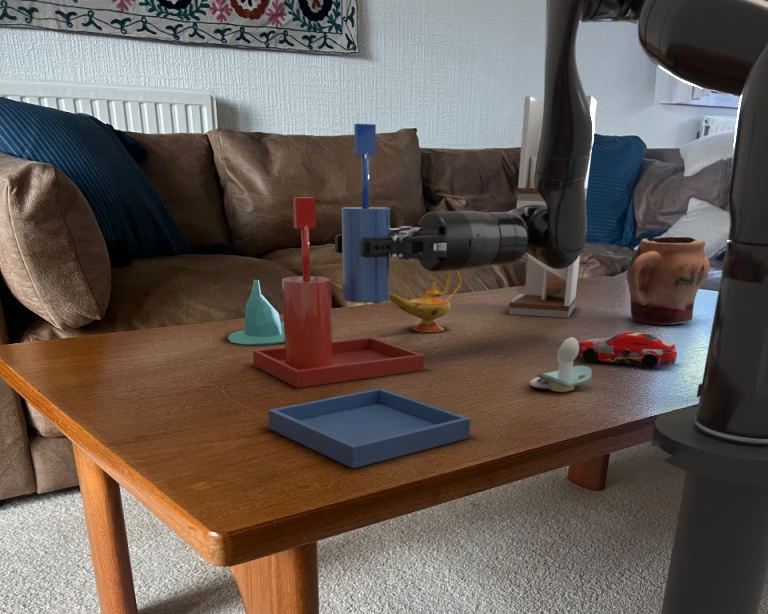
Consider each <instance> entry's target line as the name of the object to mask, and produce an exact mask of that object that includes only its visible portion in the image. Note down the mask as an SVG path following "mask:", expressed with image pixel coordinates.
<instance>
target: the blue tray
mask: <svg viewBox="0 0 768 614" xmlns="http://www.w3.org/2000/svg"><path fill="white" fill-rule="evenodd" d="M267 413H268V415H267V416H268V429H269V430H271V431H273V432H274V433H276V434H280V435H282V436H284V437H285V438H288V439H290V440H292V441H294V442H296V443H299V444H300V445H302V446H304V447H307V448H309V449H311V450H313V451H314V452H317V453H319V454H321V455H323V456H326V457H327V458H330V459H332V460H334V461H336V462H338V463H340V464H342V465H344V466H347V467H349V468H351V469H357V468H361V467H365V466H368V465H373V464H375V463H380V462H383V461H387V460H392V459H395V458H399V457H403V456H406V455H410V454H414V453H419V452H421V451H425V450H429V449H434V448H436V447H441V446H444V445H448V444H451V443H456V442H460V441H462V440H463V441H464V440H466V439H470V435H471V418H470V417H467V416H464V415H461V414H459V413H455V412H452V411H449V410H447V409H443V408H440V407H437V406H435V405H432V404H428V403H425V402H422V401H420V400H417V399H414V398H412V397H407V396H405V395H403V394H399V393H397V392H396V393H395V392H393V391H390V390H387V389H385V388H381V387H379V388H378V387H377V388H374V389H369V390H368V389H367V390H363V391H358V392H353V393H347V394H342V395H337V396H333V397H327V398H322V399H321V398H320V399H317V400H312V401H306V402H301V403H297V404H292V405H286V406H280V407H275V408H271V409H268V411H267Z"/></svg>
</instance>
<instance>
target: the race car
mask: <svg viewBox="0 0 768 614" xmlns="http://www.w3.org/2000/svg"><path fill="white" fill-rule="evenodd" d="M578 344H579V352H578V355H577V357H580V358H584V361H585V362H586V363H590V364H591V363H592V364H593V363H595V362H597V360H598V361H599V362H607V363H608V362H609V363H620V364H626V365H627V364H628V365H636V366H637V365H639V366H641V365H642V366H643V367H644V368H645V369H648V370H652V369H654V368H656V366H657V367H666V366H671V365H674V364H675V363H676V360H677V357H678V352H677V351H676V344H675V343H673V342H671V341H668V340H665V339H663V338H661V337H659V336H656V335H653V334H650V333H644V332H637V331H627V332H621V333H618V334H615V335H613V336H610V337H605V338H604V337H603V338H602V337H601V338H590V339H589V338H588V339H584V340H582V341H580V342H578Z"/></svg>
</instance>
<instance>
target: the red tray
mask: <svg viewBox="0 0 768 614" xmlns="http://www.w3.org/2000/svg"><path fill="white" fill-rule="evenodd" d="M252 354H253V355H252V359H253V366H254V367H256V368H257V369H260V370H262V371H264V372H266V373H267V374H269V375H272V376H274V377H275V378H277V379H280V380H281V381H283V382H284V383H287V384H289V385H291V386H293V387H294V388H297V389H299V388H300V389H301V388H307V387H313V386H314V387H315V386H322V385H328V384H335V383H336V384H337V383H342V382H350V381H357V380H364V379H370V378H377V377H385V376H392V375H393V376H394V375H400V374H407V373H414V372H421V371H424V364H425V363H424V359H425V355H424V354H421V353H418V352H416V351H414V350H410V349H407V348H403V347H401V346H398V345H395V344H392V343H389V342H386V341H385V340H384V341H383V340H381V339H378V338H374V337H362V338H353V339H345V340H336V341H335V340H334V341H332V366H326V367H319V368H311V369H303V370H298V369H295V368H293V367H291V366H289V365H287V364H285V346H281V347H272V348H263V349H254V350H252Z"/></svg>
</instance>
